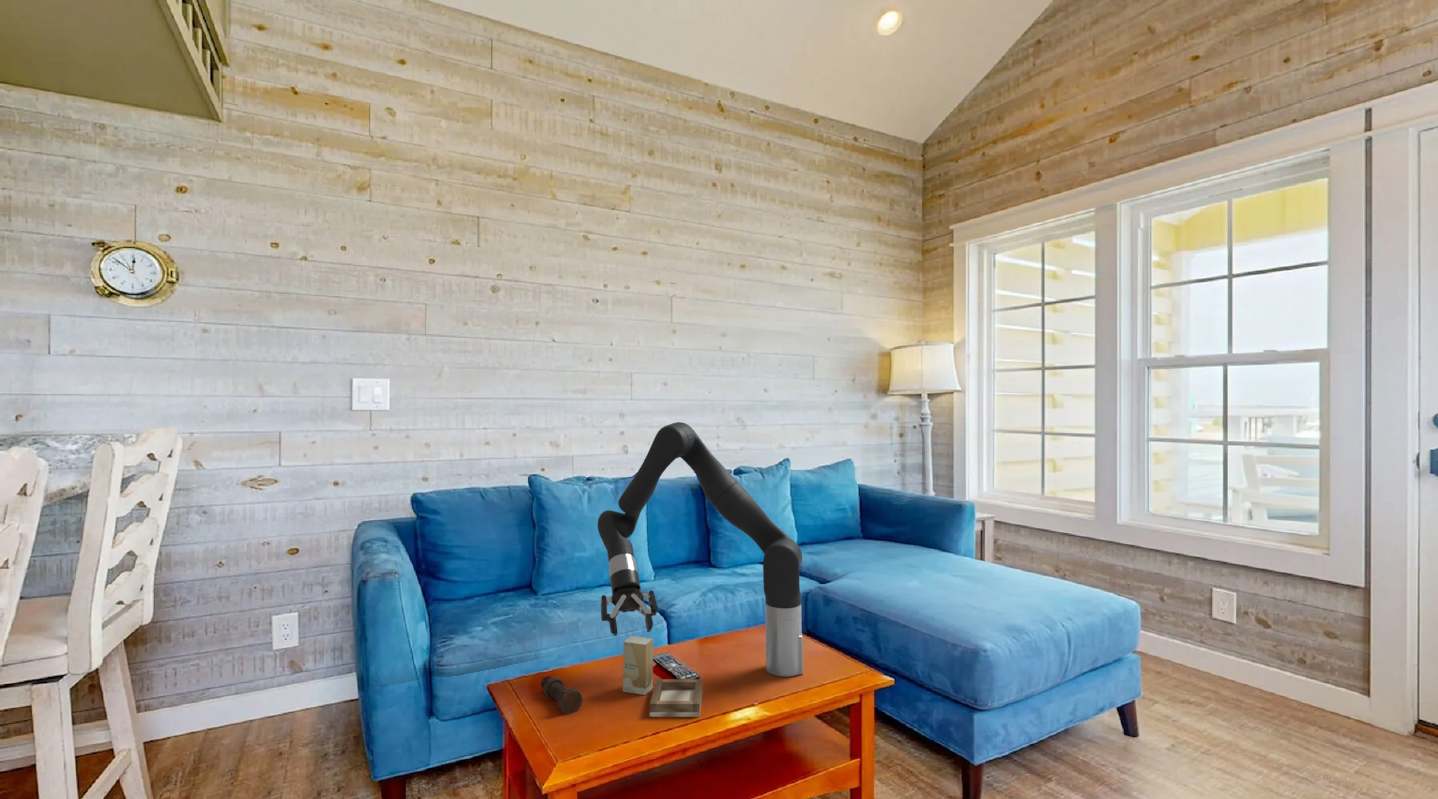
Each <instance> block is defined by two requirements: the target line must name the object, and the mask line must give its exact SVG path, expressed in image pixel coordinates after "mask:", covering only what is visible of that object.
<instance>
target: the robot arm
mask: <svg viewBox="0 0 1438 799" xmlns="http://www.w3.org/2000/svg"><path fill="white" fill-rule="evenodd" d="M654 436H655V437H654V439H653V441H652V443H651V445H650V447H649V449H648V452H647V454H646V456H645V458H644V460H643V461H642V464H641V465H640V467H639V469H638V470H637V472H636V473H635V475H634V477H633V478H632V480H631V481H630V482H629V484H628V485H627V487H626V488H625V490H624V491H623V492H622V494H621V496H620V497H619V499H618V505H617V506H618V507H619V509H620V510H621V511H622V512H623V513H622V512H619V511H615V510H611V509H609V510H608V509H607V510H604V511H602V512H601V514H599V517H598V519H597V531H598V534H599V537H600V539H601V540H602V543H603V545H604V547H605V550H606V551H607V552H606V553H607V559H608V573H609V574H608V575H609V579H610V580H609V582H610V587H611V596H606V595H605V594H603V595H601V598H600V615H601V621H602V622H608V623H609V629H610V633H611V635H612V634H613V637H615V636H618V626H617V620H616V619H617V617H618V616H619V614H620V612H622V613H627V612H631V613H632V612H633V613H634V612H636V611H637V612H638V614H640V615H642V616H643V617H644V620H645V621H644V622H645V627H646V632H648V633H649V632H651V630H653V626H654V624H653V617H654V616H655V617H656V616H657V614H658V610H659V608H658V603H657V600H656V596H655V592H654V591H653V590H651V589H650V590H649V591H648V592H644V593H643V591H642V589H641V583H640V576H639V572H638V571H639V570H638V566H637V562H636V559H635V554H634V553H635V552H634V547H633V543H632V542H631V540H630V539H628V538H629V537H631V536H633V533H634V532H635V530H636V526H637V523H638V521H639V518H640V515H641V512H642V511H643V509H644V507H646V504H647V503H648V502H649V500H650V499H651V498H652V496H653V495H654V492H655V490H656V488H657V485H658V482H659V480H660V478H661V476H662V475H663V474H664V472H665V471H666V469H667V468H668V467H670V465H671V464H672V463H673V462H674V461H675V460H676V459H678V458H681V459H682V461H684V462H685V463H686V464H687V466H689V467H690V469H691V470H692V471H693V473H694V474H695V475H696V477H697V479H698V481H699V484H700V486H701V489H702V492H703V493H704V495H705V497H706V499H707V500H708V502H709V503H710V504H711V505H712V506H713V508H714V509H715V510H716V511H717V512H718V513H719V514H720V515H721V517H723V518H724V519H725V520H726V521H727V522H728V523H730V525H732V526H734V527H735V528H737V529H738V530H740V531H741V532H743V533H744V534H746V535H747V536H748V537H750V539H752V540H753V542H754V543H755V544H756V545H757V546H758V547H759V549H760V550H761V551H762V553H763V560H762V574H763V593H764V598H765V670H766V672H767V673H768V674H770V675H773V676H775V677H781V678H782V677H783V678H784V677H795V676H798V675H803V674H804V653H803V652H804V646H803V644H804V642H803V640H804V639H803V633H802V631H803V630H802V593H801V588H800V566H801V564H802V561H803V554H802V549H801V548H800V546H799V545H798V543H797V542H795V540H794V539H793V538H791V537H790V536H789V535H788V534H787V533H786V532H784V530H782V529H781V528H780V527H779V526H778V525H777V524H775V523H774V521H773V520H772V519H771V518H770V517H769V516H768V515H767V514H766V512H765V511H764V510H763V509H762V508H761V506H760V505H759V504H758V502H756V500H754V498H753V497H752V496H751V495H750V494H749V492H748V491H747V490H746V489H745V487H743V485H742V484H741V483H740V482H739V481H738V480H737V479H736V478H735V477H734V476H733V475H732V474H731V473H730V472H729V471H728V470H727V469H726V468H725V467H724V466H723V464H722V463H721V462H720V460H718V459H717V458H716V457H715V456H714V455H713V453H712V451H710V450H709V448H708V447H707V446H706V444H705V443H704V442H703V439H701V438H700V437H699V434H698V433H697V432H696V431H695V430H694V429H693V428H692V427H691V425H689V424H687V423H685V422H682V421H679V422H678V421H677V422H673V423H670V424H667V425H664V426H663V427H661V428H660V429H659V430H658V431H657V432H656V434H655V435H654ZM644 599H645V601H647V602H648V604H649V607H650V608H649V607H648V606H647V605H646V603H645V602H644ZM610 602H611V603H612V604H613V605H614V607H613V610H612V611H611V613H608V606H609V605H610Z"/></svg>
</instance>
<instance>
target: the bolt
mask: <svg viewBox="0 0 1438 799" xmlns="http://www.w3.org/2000/svg"><path fill="white" fill-rule="evenodd" d="M540 687H541V689H542V691H543V693H544V695H545V696H546V697H547V698H548V699H549V700H554V699H555V701H557V702H556V705H557V706H558V708H559V709H560V710H561V712H562V713H563V714H564V715H571V714H574V713H576V712H578V711H579V710H580V708H581V706H582V704H583V701H584V697H583V695H582V693H581V692H580V690H579V689H578V688H577V687H575V686H573V687H571V688H567V687H565V684H564V682H563V681H562V680H561V677H559V676H554V677H552V676H545V677H543V678H542V679H541V682H540Z"/></svg>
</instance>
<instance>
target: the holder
mask: <svg viewBox="0 0 1438 799" xmlns="http://www.w3.org/2000/svg"><path fill="white" fill-rule="evenodd" d="M650 698H651V699H650V702H649V717H650V718H651V717H654V718H655V717H658V718H659V717H660V718H664V717H667V718H668V717H669V718H671V717H672V718H673V717H675V718H676V717H677V718H678V717H679V718H682V717H683V718H687V717H688V718H690V717H691V718H692V717H693V718H699V717H700V715H701V708H702V707H701V706H702V698H703V679H699V678H698V679H697V678H696V679H693V678H692V679H690V678H689V679H688V678H687V679H684V678H683V679H681V678H680V679H679V678H676V679H675V678H674V679H671V678H670V679H667V678H666V679H656V680H655V684H654V687H653V691H652V695H651V697H650Z"/></svg>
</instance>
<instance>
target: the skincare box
mask: <svg viewBox="0 0 1438 799" xmlns="http://www.w3.org/2000/svg"><path fill="white" fill-rule="evenodd" d="M622 650H623V654H622V655H623V656H622V657H623V660H622V661H623V663H622V692H623V693H629V694H636V695H641V696H642V695H643V696H646V695H647V694H649V693H650V692H651V690H652V689H654V687H653V685H654V684H653V683H654V682H653V680H654V679H653V678H654V638H649V637H643V636H635V635H630V636H629V637H627V638H626V639H625V640H623V649H622Z"/></svg>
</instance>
